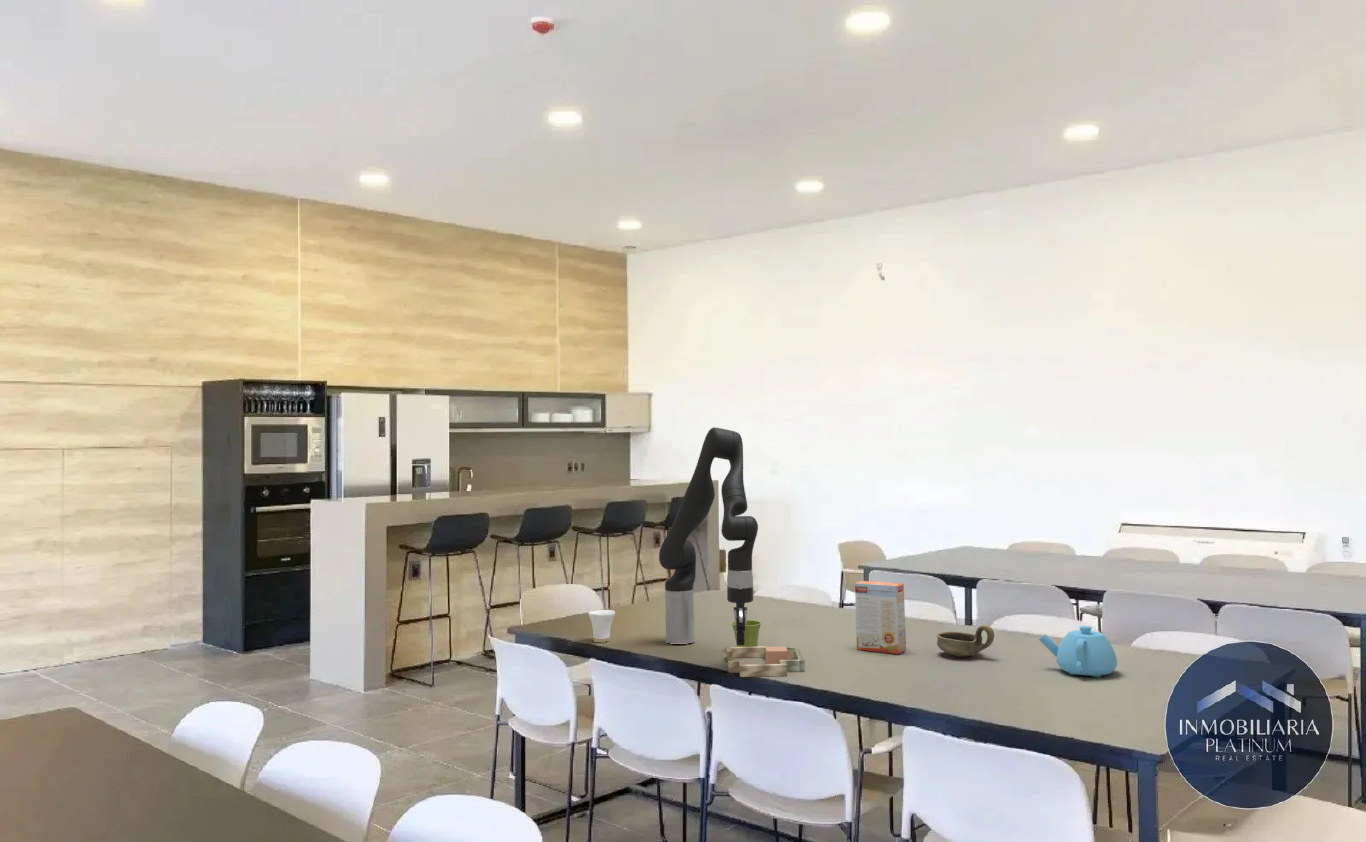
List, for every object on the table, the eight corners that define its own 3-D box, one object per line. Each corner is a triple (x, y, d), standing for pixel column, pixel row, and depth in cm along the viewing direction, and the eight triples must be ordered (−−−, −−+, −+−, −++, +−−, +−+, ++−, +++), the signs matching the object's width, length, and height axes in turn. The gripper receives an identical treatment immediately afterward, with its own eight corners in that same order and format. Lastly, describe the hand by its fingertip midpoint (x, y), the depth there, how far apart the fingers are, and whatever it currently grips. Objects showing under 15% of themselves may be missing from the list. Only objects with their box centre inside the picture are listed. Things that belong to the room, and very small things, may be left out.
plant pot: (741, 655, 298) (741, 626, 298) (726, 649, 307) (725, 622, 307) (767, 651, 303) (767, 623, 303) (751, 646, 311) (751, 618, 311)
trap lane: (729, 677, 271) (729, 663, 271) (726, 657, 296) (726, 644, 296) (806, 675, 271) (806, 661, 271) (797, 655, 296) (797, 643, 296)
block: (767, 668, 281) (766, 651, 281) (765, 664, 287) (765, 646, 287) (788, 668, 281) (787, 650, 281) (785, 663, 287) (785, 646, 287)
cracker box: (906, 651, 298) (904, 582, 299) (898, 655, 293) (896, 585, 294) (865, 646, 307) (863, 579, 307) (856, 650, 302) (854, 582, 302)
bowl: (949, 648, 301) (948, 616, 301) (1003, 656, 289) (1003, 622, 289) (927, 656, 291) (926, 623, 291) (982, 665, 279) (981, 630, 279)
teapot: (1111, 684, 254) (1109, 635, 255) (1031, 675, 265) (1030, 629, 265) (1122, 668, 271) (1121, 622, 271) (1047, 660, 282) (1046, 616, 282)
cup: (583, 643, 321) (583, 613, 321) (596, 638, 329) (596, 608, 330) (607, 645, 317) (607, 614, 318) (620, 639, 326) (619, 609, 326)
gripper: (726, 581, 291) (727, 639, 291) (727, 588, 277) (728, 650, 277) (752, 581, 290) (752, 639, 290) (754, 588, 277) (754, 650, 277)
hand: (740, 644), depth 284 cm, fingers closed
